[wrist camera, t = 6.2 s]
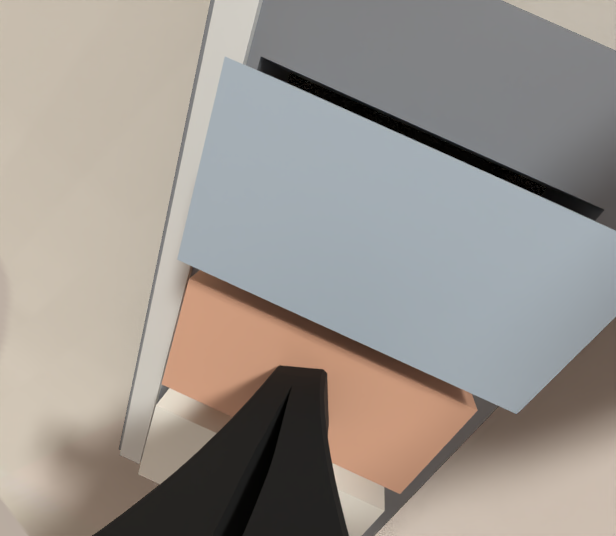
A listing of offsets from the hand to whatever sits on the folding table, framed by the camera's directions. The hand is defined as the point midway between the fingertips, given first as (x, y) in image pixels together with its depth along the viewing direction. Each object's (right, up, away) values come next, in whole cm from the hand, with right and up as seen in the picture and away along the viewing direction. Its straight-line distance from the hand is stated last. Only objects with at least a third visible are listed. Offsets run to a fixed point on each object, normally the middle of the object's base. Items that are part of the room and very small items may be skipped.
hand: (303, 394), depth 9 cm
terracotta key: (+1, +2, +3) cm, 4 cm away
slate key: (+2, +5, 0) cm, 6 cm away
